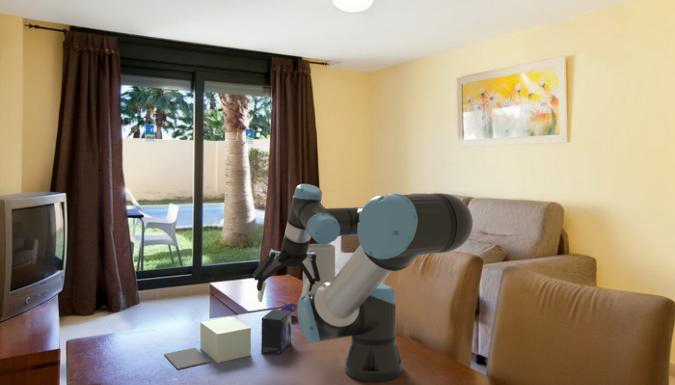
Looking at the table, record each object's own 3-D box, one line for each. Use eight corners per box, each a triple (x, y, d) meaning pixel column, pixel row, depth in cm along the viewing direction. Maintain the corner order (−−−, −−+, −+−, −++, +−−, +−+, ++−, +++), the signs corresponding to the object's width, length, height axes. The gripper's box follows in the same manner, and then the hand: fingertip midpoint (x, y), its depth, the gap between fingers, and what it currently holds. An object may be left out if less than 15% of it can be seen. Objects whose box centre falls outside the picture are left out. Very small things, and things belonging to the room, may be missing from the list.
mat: (210, 362, 135) (210, 360, 135) (177, 369, 130) (177, 368, 130) (195, 348, 146) (194, 347, 146) (164, 355, 141) (164, 353, 141)
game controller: (272, 304, 183) (298, 298, 184) (277, 326, 181) (303, 319, 182) (270, 303, 174) (298, 296, 175) (275, 326, 172) (303, 319, 173)
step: (250, 355, 141) (250, 327, 140) (217, 362, 135) (217, 334, 135) (231, 342, 152) (231, 316, 152) (200, 348, 146) (200, 322, 146)
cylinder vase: (332, 315, 181) (332, 248, 180) (299, 314, 183) (299, 248, 182) (337, 306, 193) (337, 244, 193) (306, 305, 195) (306, 243, 195)
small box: (281, 355, 141) (281, 319, 140) (260, 353, 142) (260, 318, 142) (292, 343, 151) (292, 309, 151) (272, 341, 152) (272, 308, 152)
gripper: (332, 233, 146) (316, 292, 154) (251, 227, 136) (238, 291, 143) (341, 245, 140) (324, 306, 147) (257, 240, 130) (242, 306, 137)
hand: (281, 299), depth 145 cm, fingers open, 13 cm apart
